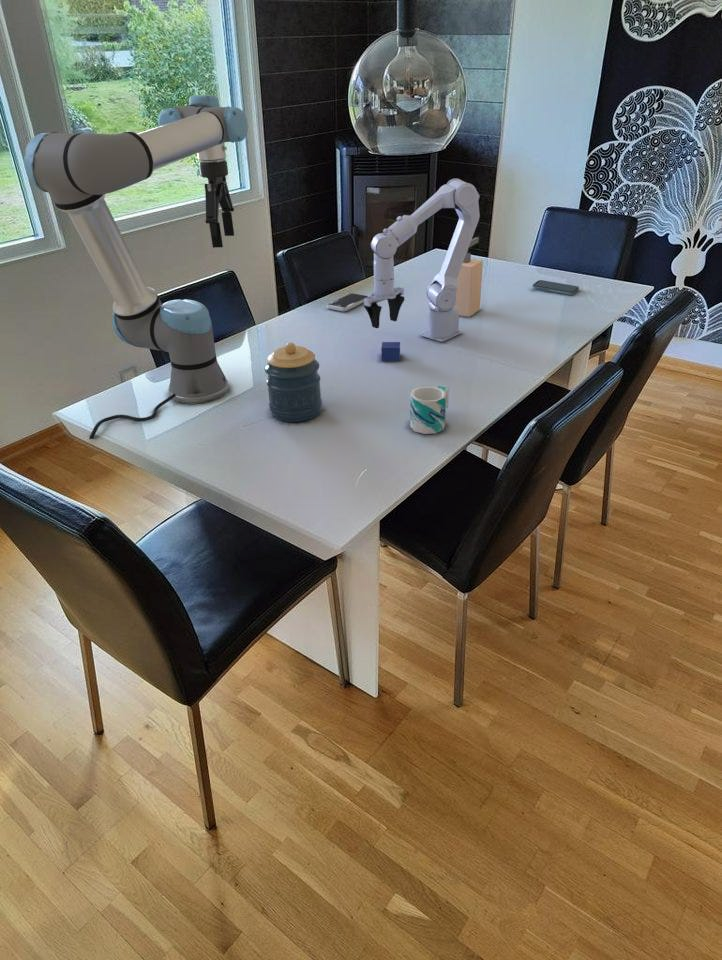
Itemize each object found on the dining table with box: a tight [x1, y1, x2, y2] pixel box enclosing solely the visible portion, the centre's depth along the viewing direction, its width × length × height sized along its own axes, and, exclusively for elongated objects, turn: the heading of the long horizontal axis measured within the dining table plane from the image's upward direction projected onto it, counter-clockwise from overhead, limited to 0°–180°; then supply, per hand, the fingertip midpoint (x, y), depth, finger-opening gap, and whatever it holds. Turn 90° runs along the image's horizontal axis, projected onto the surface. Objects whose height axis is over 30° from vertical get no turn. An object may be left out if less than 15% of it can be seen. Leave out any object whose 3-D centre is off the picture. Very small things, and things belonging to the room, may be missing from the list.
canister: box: [264, 342, 323, 423], centre depth 161 cm, size 13×13×18 cm
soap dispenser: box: [455, 236, 484, 318], centre depth 219 cm, size 13×9×22 cm
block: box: [380, 341, 401, 362], centre depth 191 cm, size 4×5×4 cm
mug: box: [409, 385, 450, 435], centre depth 156 cm, size 8×12×8 cm
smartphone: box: [326, 292, 369, 312], centre depth 233 cm, size 8×1×15 cm
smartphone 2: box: [531, 279, 580, 296], centre depth 239 cm, size 8×2×15 cm
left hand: (223, 241), depth 193 cm, fingers open, 13 cm apart
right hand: (384, 323), depth 199 cm, fingers open, 7 cm apart
